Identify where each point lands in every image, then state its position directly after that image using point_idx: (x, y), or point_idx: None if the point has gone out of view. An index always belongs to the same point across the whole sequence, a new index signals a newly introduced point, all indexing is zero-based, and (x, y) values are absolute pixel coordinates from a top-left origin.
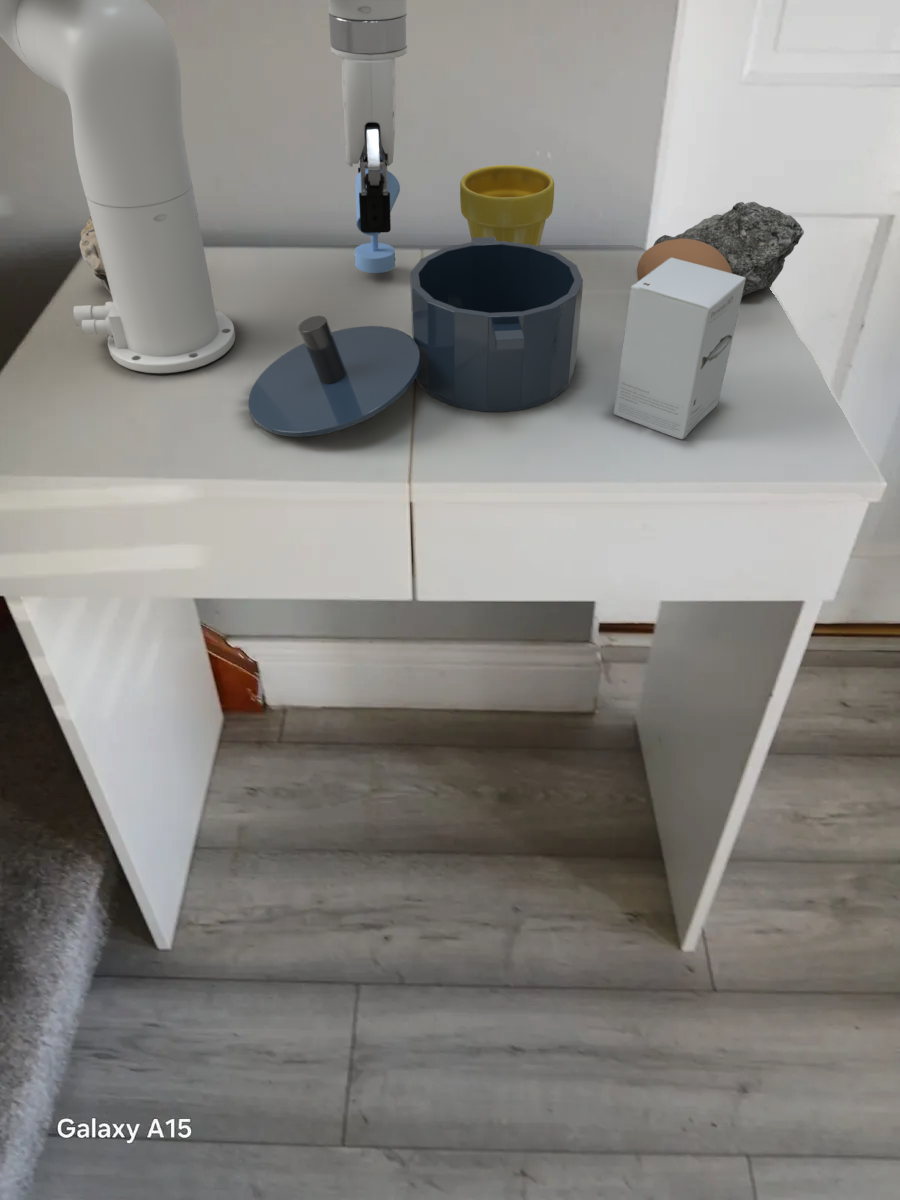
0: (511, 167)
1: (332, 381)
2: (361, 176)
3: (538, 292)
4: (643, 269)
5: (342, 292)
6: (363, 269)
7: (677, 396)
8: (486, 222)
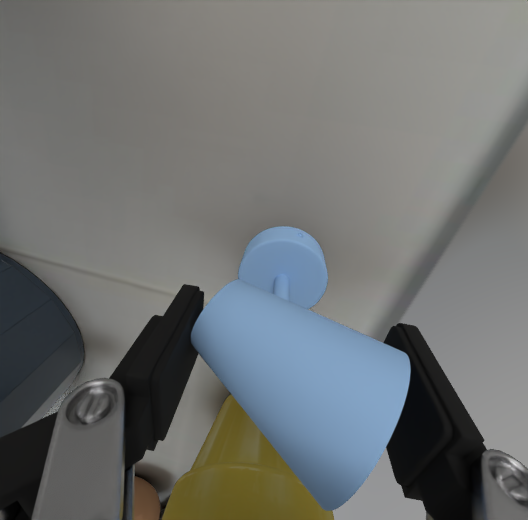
0: None
1: None
2: (44, 479)
3: None
4: None
5: (228, 177)
6: (254, 238)
7: None
8: (182, 481)
